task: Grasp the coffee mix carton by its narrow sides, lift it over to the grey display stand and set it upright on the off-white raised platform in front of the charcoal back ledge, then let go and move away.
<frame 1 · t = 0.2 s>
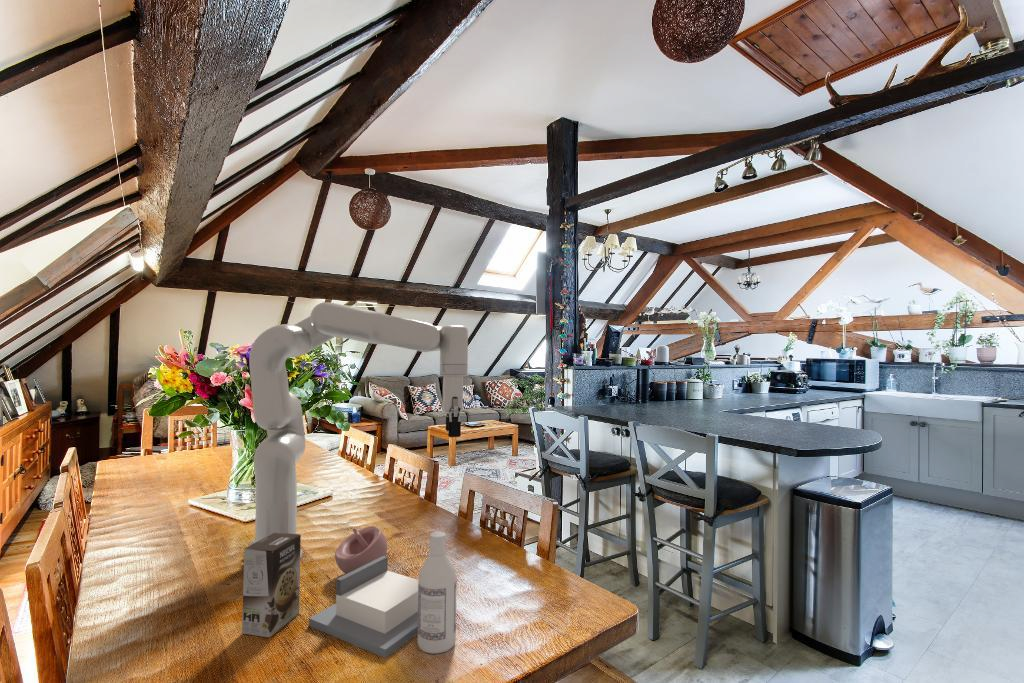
hand: (452, 433, 135), 31 cm above the table, tool pointing down, fingers open, 9 cm apart
display stand: (383, 616, 100), on the table
coffee box: (271, 624, 98), on the table
mortar and pestle: (360, 575, 119), on the table
bath foam: (436, 644, 91), on the table
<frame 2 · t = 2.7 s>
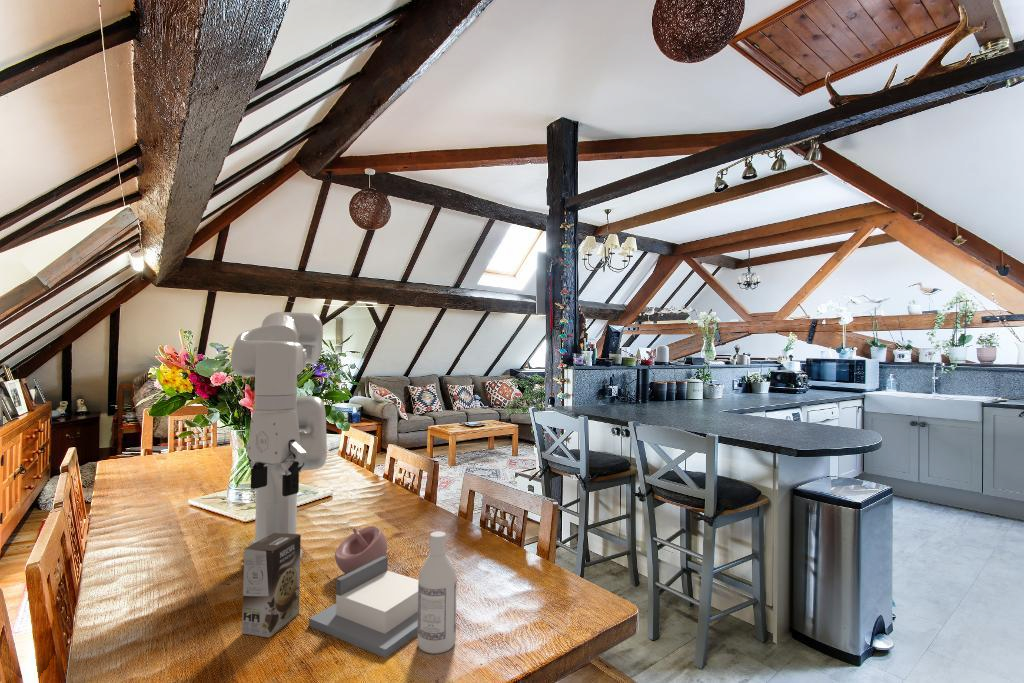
hand: (274, 490, 98), 26 cm above the table, tool pointing down, fingers open, 9 cm apart
nothing on the table moved.
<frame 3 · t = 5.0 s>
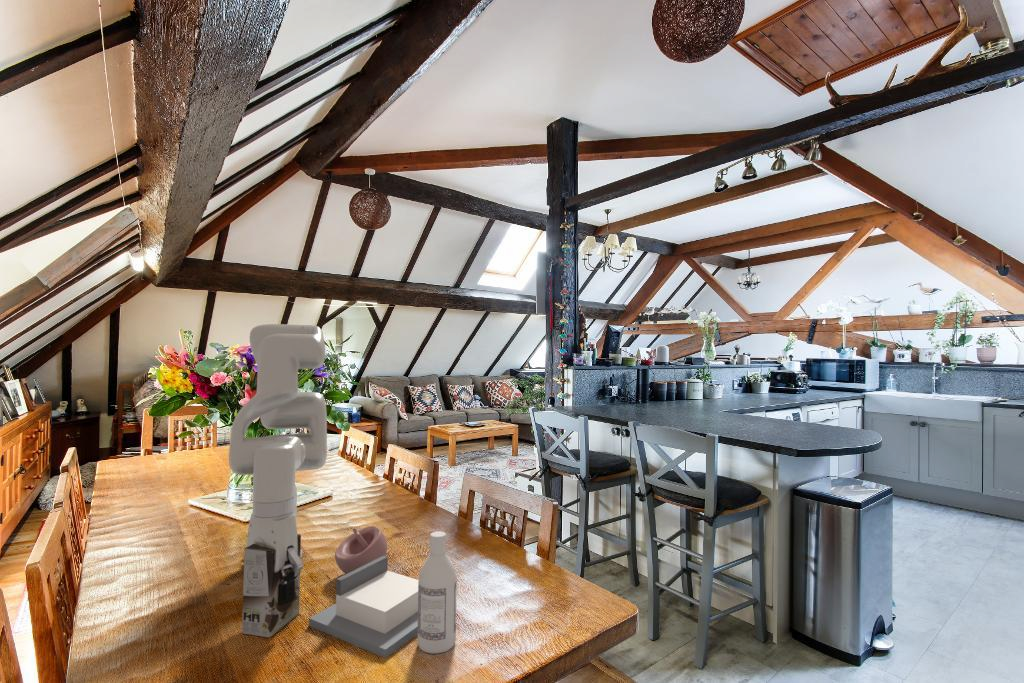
hand: (272, 596, 98), 5 cm above the table, tool pointing down, fingers closed on coffee box, 7 cm apart
coffee box: (272, 624, 98), on the table, touching gripper
everything else where it was.
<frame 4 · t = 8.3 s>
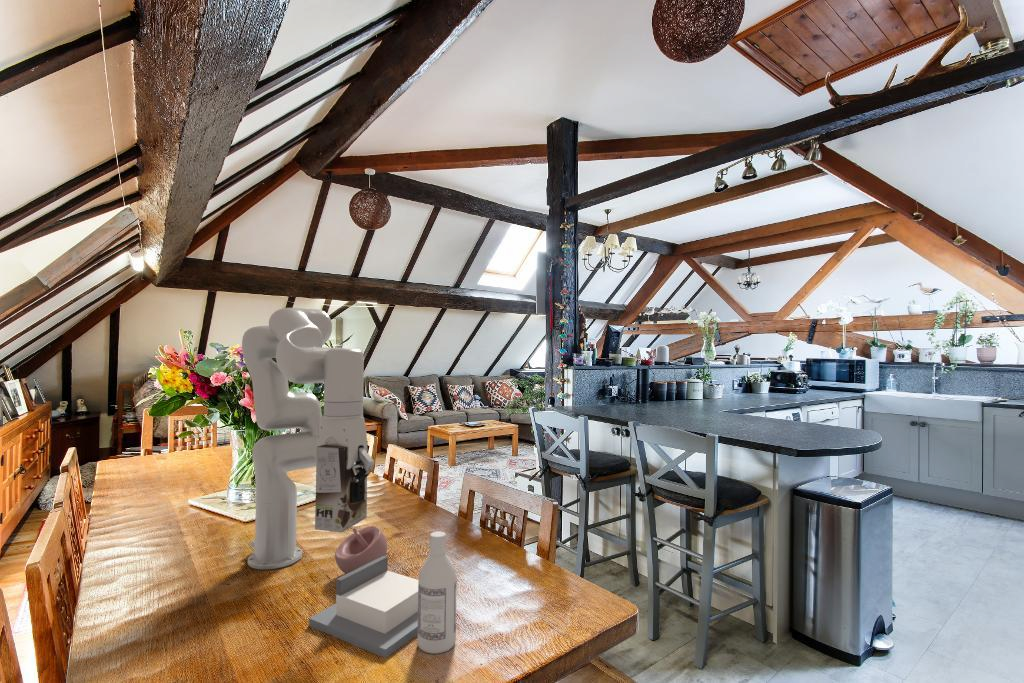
hand: (342, 497, 100), 24 cm above the table, tool pointing down, fingers closed on coffee box, 7 cm apart
coffee box: (342, 524, 99), point 19 cm above the table, touching gripper
everything else where it was.
when the fingers open (12 cm above the table, at t = 11.7 s): coffee box drops 1 cm, resting on display stand.
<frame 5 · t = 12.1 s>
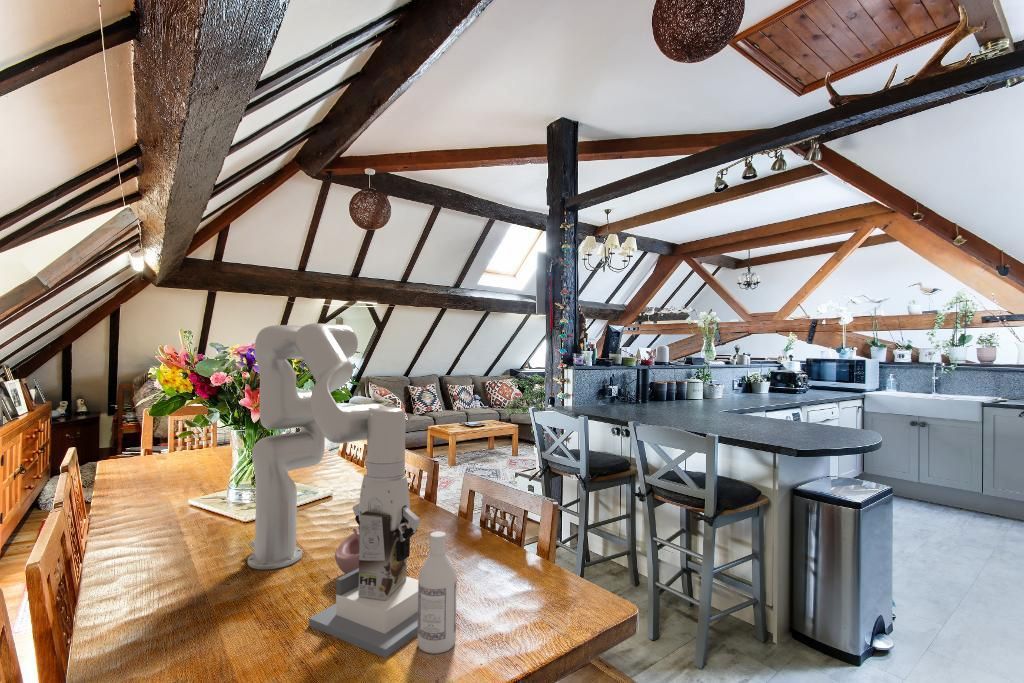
hand: (384, 553, 101), 12 cm above the table, tool pointing down, fingers open, 9 cm apart
coffee box: (383, 589, 101), point 5 cm above the table, touching display stand
everything else where it was.
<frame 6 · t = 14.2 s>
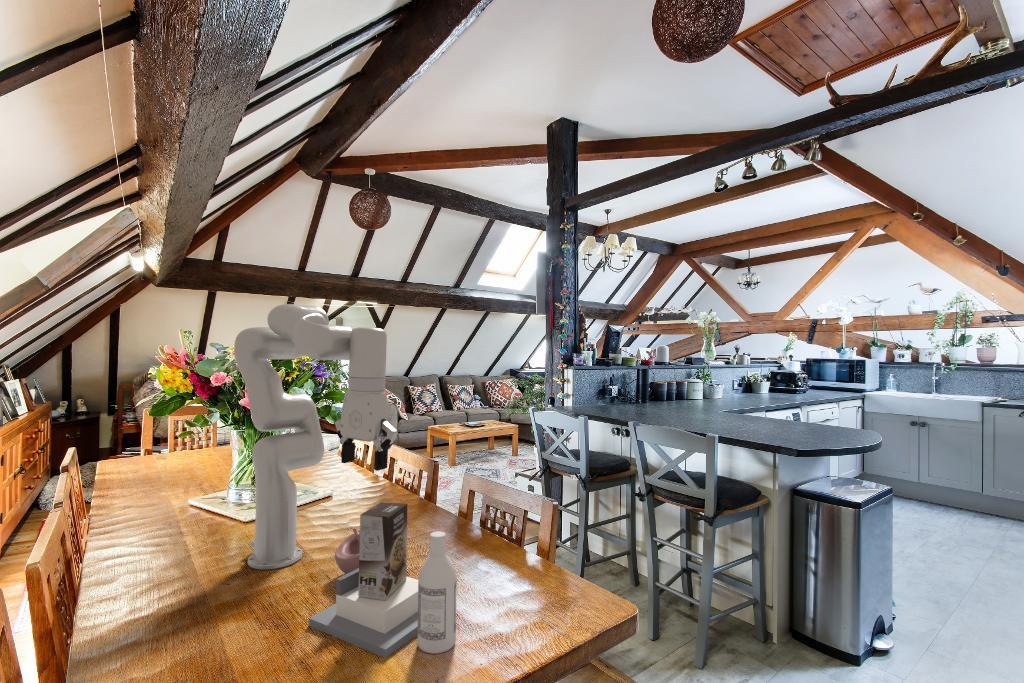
hand: (364, 465, 106), 29 cm above the table, tool pointing down, fingers open, 9 cm apart
nothing on the table moved.
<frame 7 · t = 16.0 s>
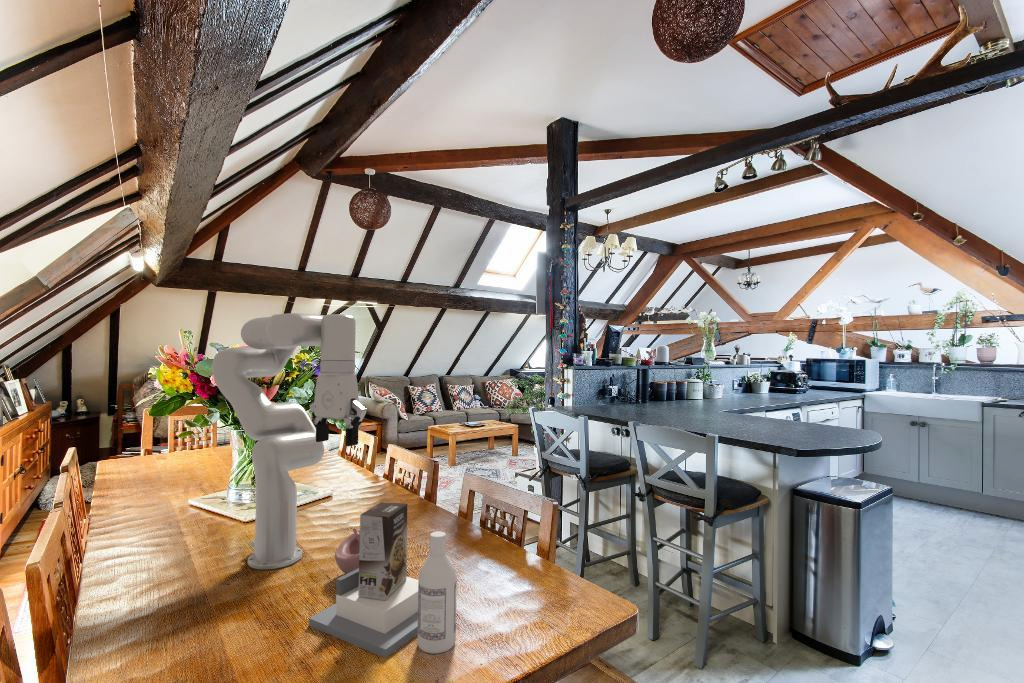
hand: (336, 443, 114), 32 cm above the table, tool pointing down, fingers open, 9 cm apart
nothing on the table moved.
at the end: coffee box inside the target area on the display stand (0.2 cm from its centre), point 5.3 cm above the display stand's base; coffee box tilted 0°; the gripper is holding nothing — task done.
